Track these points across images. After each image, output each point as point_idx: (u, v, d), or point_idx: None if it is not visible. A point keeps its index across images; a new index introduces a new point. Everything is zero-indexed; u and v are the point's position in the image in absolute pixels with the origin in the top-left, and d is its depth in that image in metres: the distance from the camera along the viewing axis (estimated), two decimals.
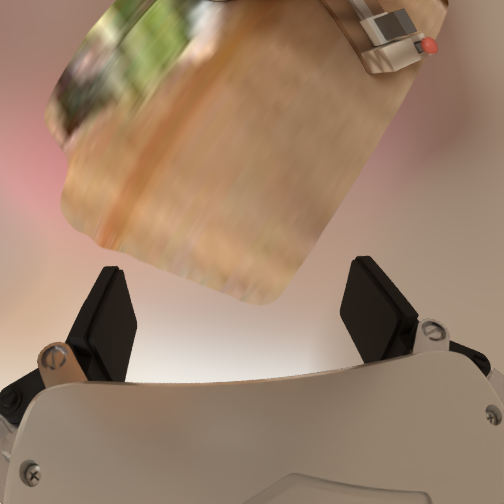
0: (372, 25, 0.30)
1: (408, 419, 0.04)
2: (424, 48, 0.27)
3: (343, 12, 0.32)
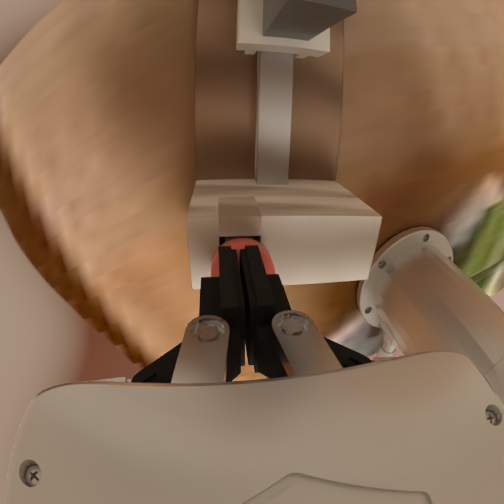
0: None
1: (408, 419, 0.04)
2: None
3: (319, 96, 0.17)
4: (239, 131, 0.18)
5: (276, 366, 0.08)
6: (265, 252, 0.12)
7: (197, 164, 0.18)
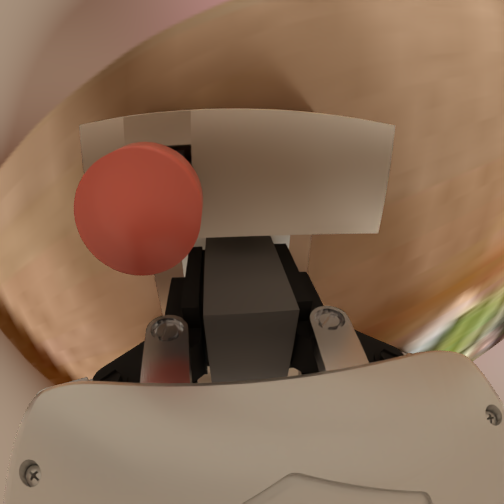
0: None
1: (408, 419, 0.04)
2: (202, 200, 0.06)
3: None
4: None
5: (312, 360, 0.08)
6: None
7: None
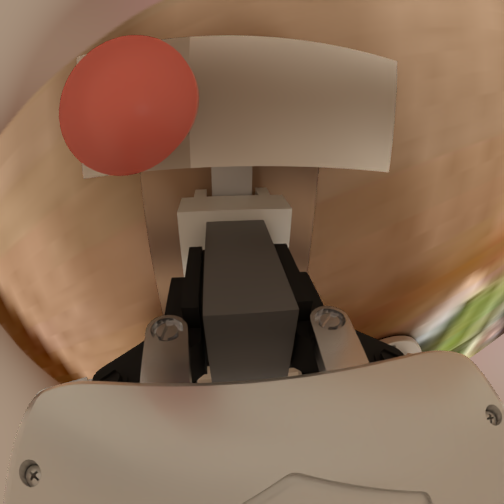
0: None
1: (408, 419, 0.04)
2: (198, 91, 0.05)
3: None
4: None
5: (312, 360, 0.08)
6: None
7: None
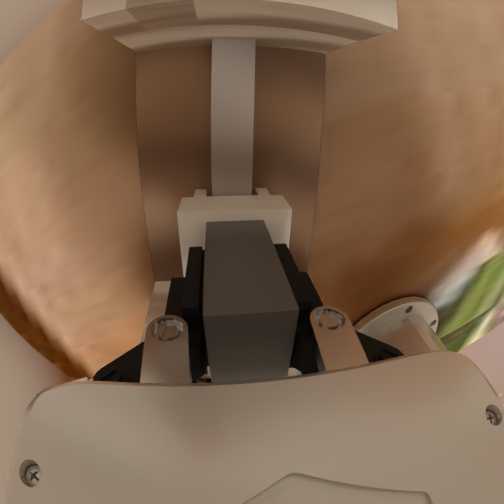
0: None
1: (408, 419, 0.04)
2: None
3: (289, 185, 0.16)
4: None
5: (312, 360, 0.08)
6: None
7: (154, 266, 0.17)
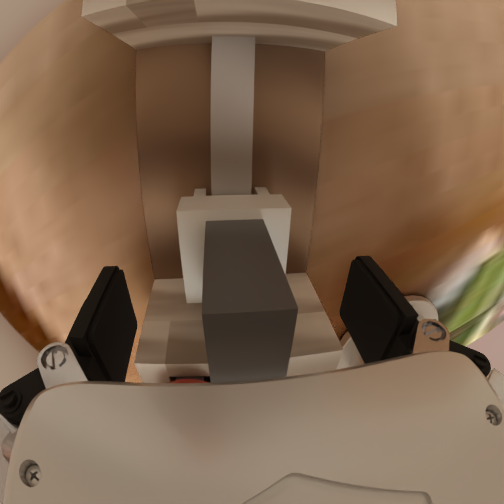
0: None
1: (408, 419, 0.04)
2: None
3: (289, 182, 0.16)
4: None
5: None
6: None
7: (153, 264, 0.17)
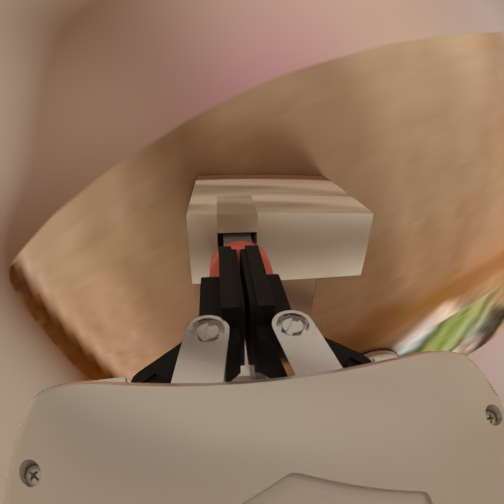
0: None
1: (408, 419, 0.04)
2: None
3: (295, 306, 0.26)
4: None
5: (276, 366, 0.08)
6: None
7: None
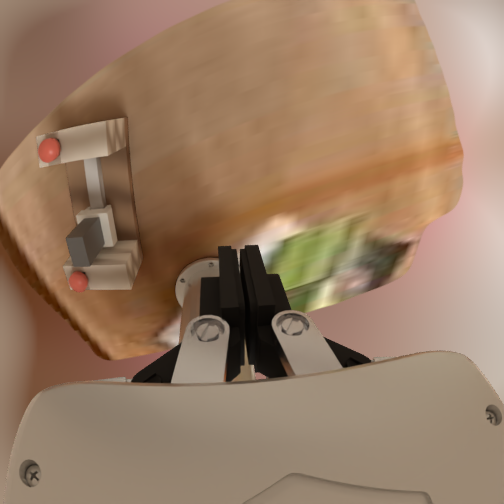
0: (109, 237, 0.35)
1: (408, 419, 0.04)
2: (58, 147, 0.25)
3: (120, 202, 0.37)
4: None
5: (276, 366, 0.08)
6: (81, 276, 0.33)
7: None
